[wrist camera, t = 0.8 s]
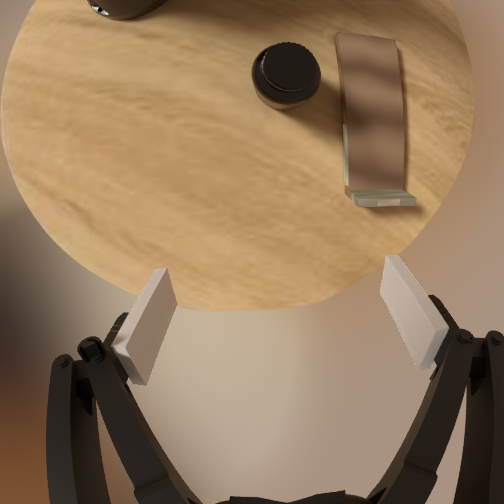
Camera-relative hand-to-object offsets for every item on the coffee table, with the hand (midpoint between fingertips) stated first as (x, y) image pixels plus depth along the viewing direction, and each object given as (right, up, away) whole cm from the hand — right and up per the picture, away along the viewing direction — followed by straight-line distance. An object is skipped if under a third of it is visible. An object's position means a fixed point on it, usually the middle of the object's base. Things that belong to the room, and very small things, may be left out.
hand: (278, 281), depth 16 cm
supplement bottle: (+2, +23, +14) cm, 27 cm away
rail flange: (+14, +20, +15) cm, 28 cm away
